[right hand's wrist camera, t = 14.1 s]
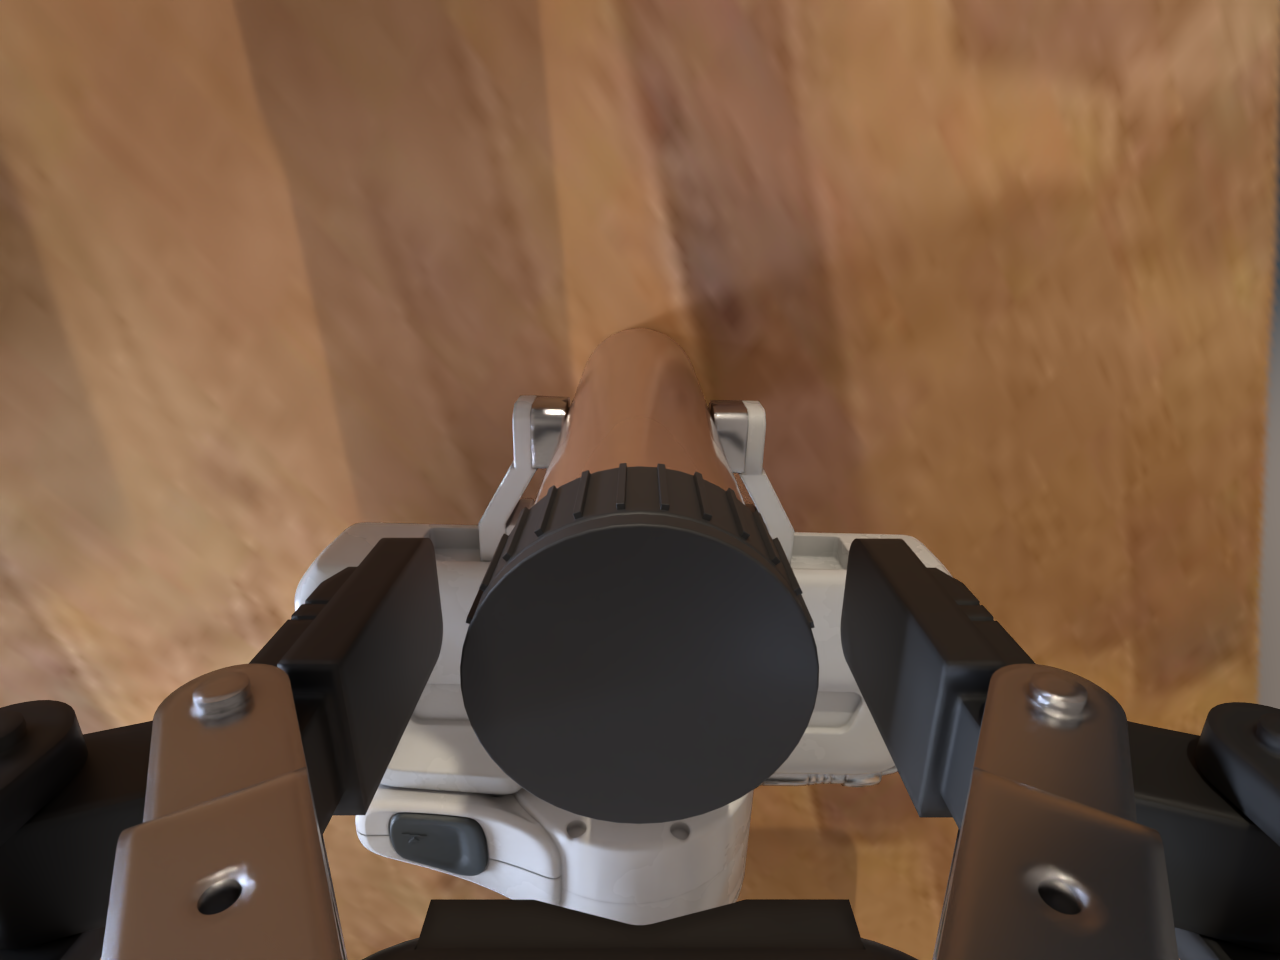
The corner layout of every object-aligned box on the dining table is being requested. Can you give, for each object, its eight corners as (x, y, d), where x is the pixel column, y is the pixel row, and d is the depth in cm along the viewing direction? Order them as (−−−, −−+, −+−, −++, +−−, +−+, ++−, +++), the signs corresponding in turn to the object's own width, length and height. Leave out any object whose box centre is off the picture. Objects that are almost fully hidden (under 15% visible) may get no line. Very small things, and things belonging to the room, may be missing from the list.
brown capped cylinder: (589, 320, 25) (493, 507, 9) (703, 336, 25) (826, 548, 9) (577, 431, 27) (476, 772, 10) (685, 445, 27) (762, 802, 10)
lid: (497, 439, 10) (460, 494, 8) (822, 480, 10) (867, 544, 8) (479, 709, 12) (446, 811, 10) (759, 739, 12) (784, 844, 10)
